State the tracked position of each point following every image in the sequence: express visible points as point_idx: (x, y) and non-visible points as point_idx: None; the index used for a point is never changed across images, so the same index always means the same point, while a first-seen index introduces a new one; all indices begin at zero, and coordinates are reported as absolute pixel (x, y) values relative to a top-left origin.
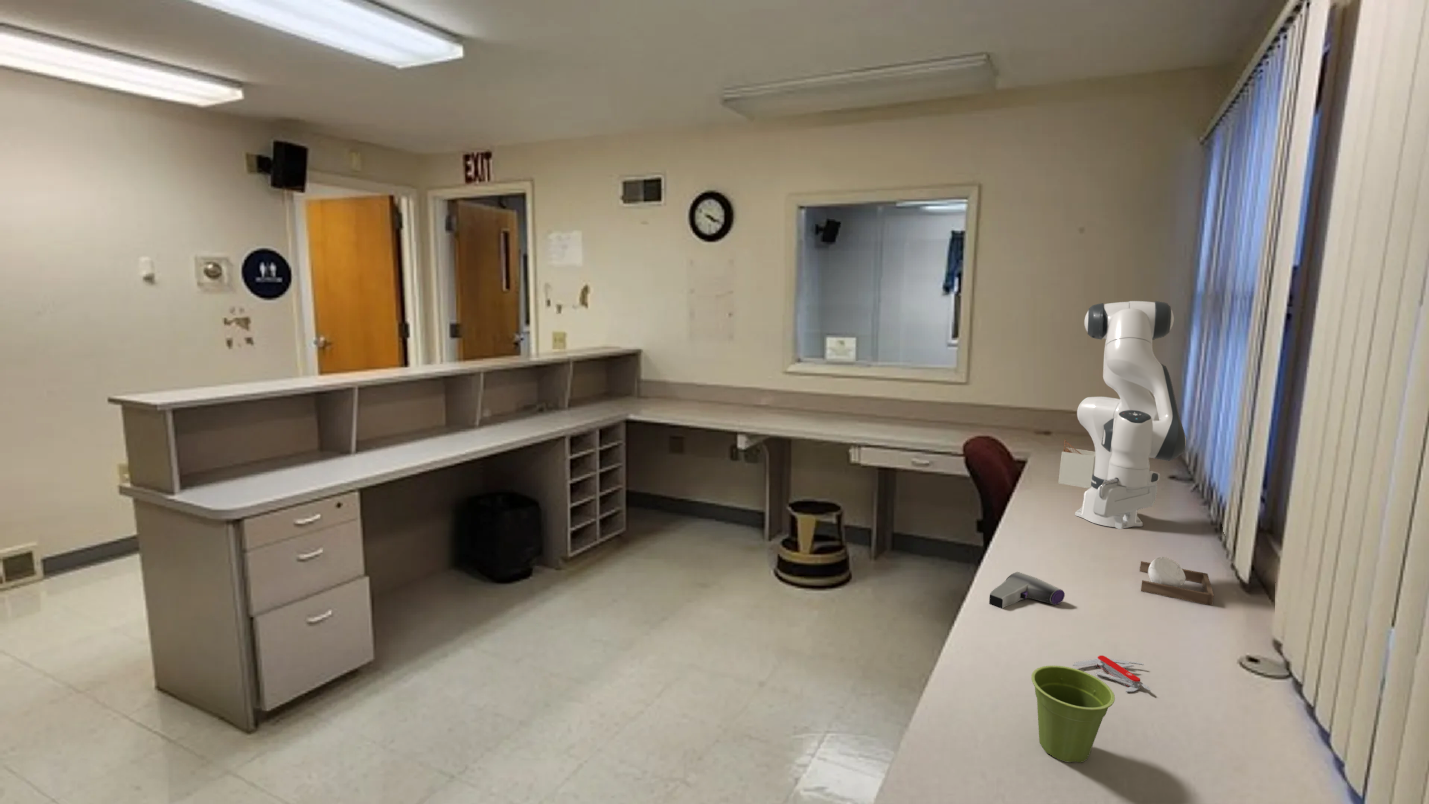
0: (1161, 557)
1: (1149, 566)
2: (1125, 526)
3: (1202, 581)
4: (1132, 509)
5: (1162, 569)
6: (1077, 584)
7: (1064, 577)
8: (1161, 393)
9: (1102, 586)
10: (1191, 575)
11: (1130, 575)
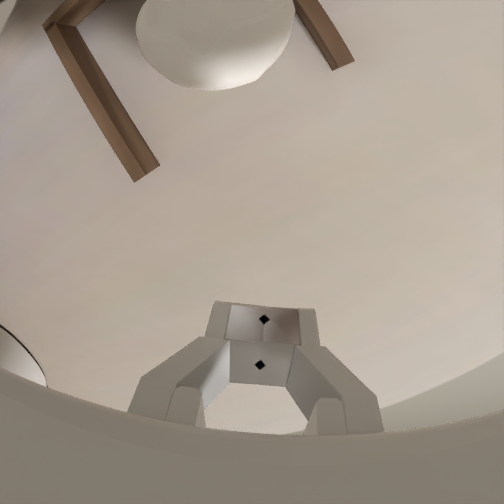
0: (204, 34)
1: (254, 75)
2: (258, 311)
3: (77, 17)
4: (210, 455)
5: (277, 3)
6: (462, 221)
7: (439, 267)
8: None
9: (422, 166)
10: (74, 45)
11: (228, 160)
